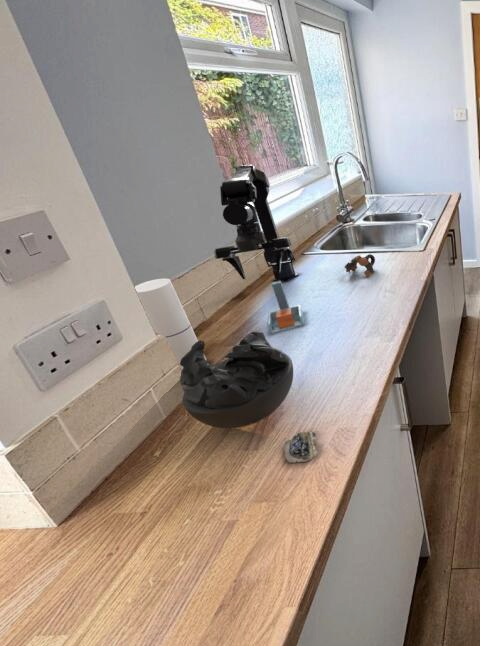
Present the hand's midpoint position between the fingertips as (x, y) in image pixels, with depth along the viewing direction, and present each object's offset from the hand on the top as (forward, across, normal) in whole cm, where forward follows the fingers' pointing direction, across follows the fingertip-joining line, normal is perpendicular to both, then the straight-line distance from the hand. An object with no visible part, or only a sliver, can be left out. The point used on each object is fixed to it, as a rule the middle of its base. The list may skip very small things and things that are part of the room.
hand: (262, 275), depth 120 cm
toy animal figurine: (+9, +28, +27) cm, 40 cm away
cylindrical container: (+20, -18, -14) cm, 30 cm away
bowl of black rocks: (+26, 0, -39) cm, 46 cm away
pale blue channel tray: (+16, +3, 0) cm, 16 cm away
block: (+16, +3, -2) cm, 16 cm away
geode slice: (+30, +10, -54) cm, 62 cm away
